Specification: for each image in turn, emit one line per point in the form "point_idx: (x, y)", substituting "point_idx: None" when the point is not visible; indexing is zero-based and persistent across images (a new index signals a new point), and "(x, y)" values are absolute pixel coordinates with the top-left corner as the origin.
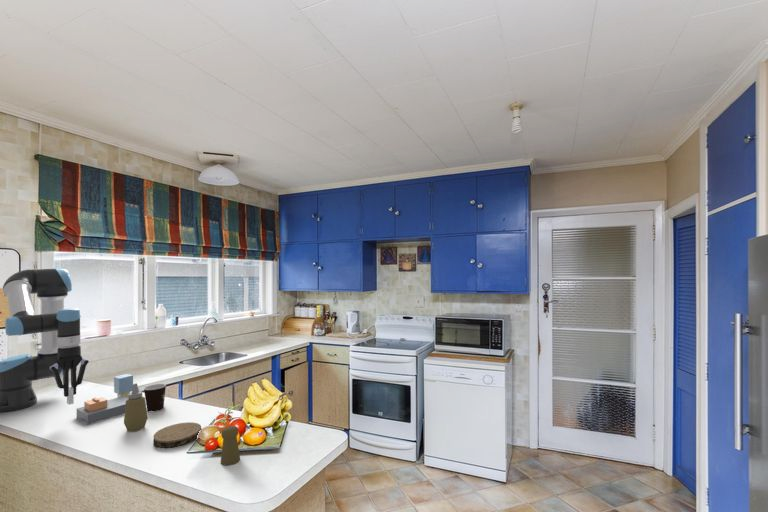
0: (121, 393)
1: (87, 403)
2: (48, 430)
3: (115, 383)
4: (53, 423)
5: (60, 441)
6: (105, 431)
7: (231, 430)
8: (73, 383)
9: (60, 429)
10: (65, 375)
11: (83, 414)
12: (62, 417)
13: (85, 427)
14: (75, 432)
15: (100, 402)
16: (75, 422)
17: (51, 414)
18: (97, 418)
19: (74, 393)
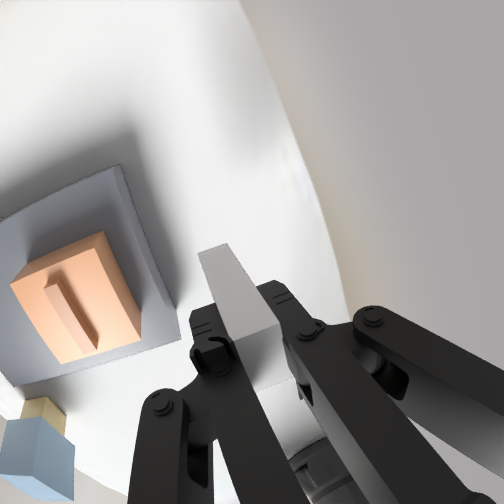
0: (35, 418)
1: (114, 289)
2: (280, 207)
3: (63, 471)
4: None
5: (241, 11)
6: (68, 9)
7: None
8: (245, 387)
9: (237, 181)
10: (433, 458)
11: (138, 237)
12: None
13: (131, 124)
14: (177, 78)
15: (40, 267)
16: (176, 245)
17: (262, 391)
18: (74, 183)
19: (204, 314)
